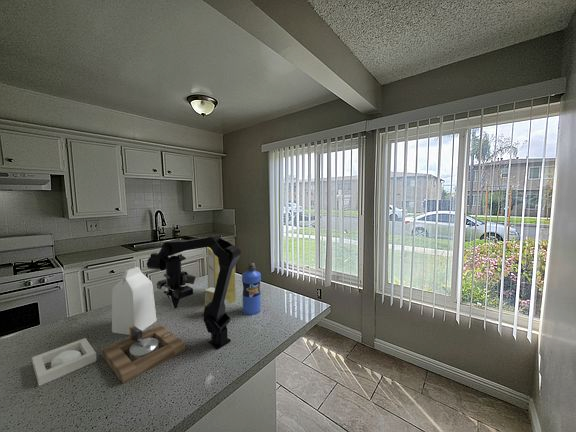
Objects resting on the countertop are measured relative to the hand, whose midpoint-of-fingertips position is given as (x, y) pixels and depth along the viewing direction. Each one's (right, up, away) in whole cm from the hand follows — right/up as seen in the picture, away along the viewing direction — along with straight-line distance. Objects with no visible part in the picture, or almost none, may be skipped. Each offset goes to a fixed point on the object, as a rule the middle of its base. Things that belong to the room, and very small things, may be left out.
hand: (175, 307), depth 97 cm
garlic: (-30, -14, -15) cm, 36 cm away
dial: (-8, -12, -9) cm, 17 cm away
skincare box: (+9, -11, +19) cm, 24 cm away
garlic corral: (-31, -13, -16) cm, 37 cm away
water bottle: (+28, -10, +23) cm, 37 cm away
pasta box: (+8, -9, +38) cm, 40 cm away
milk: (-22, -11, +8) cm, 25 cm away
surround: (-6, -13, -10) cm, 18 cm away
